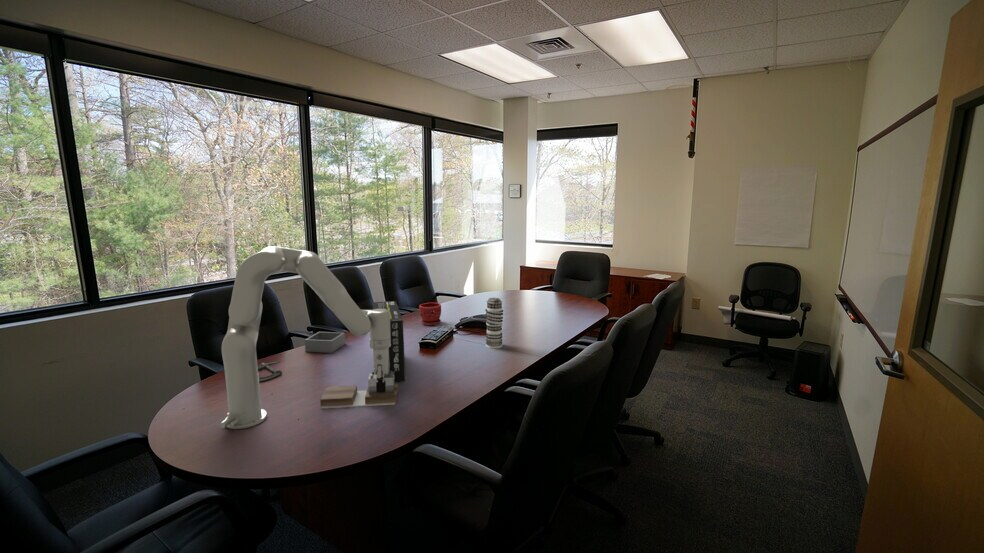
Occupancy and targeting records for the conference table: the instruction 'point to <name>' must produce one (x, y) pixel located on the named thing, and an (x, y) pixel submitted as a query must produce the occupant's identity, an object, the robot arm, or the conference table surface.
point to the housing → (388, 380)
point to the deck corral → (324, 342)
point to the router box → (395, 339)
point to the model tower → (494, 323)
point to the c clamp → (266, 366)
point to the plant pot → (430, 313)
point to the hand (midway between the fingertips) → (381, 387)
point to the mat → (358, 401)
